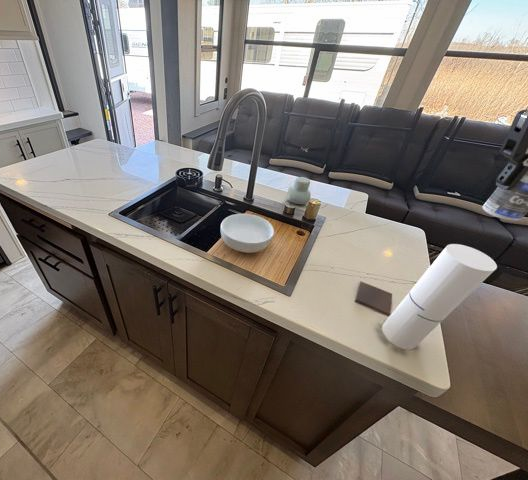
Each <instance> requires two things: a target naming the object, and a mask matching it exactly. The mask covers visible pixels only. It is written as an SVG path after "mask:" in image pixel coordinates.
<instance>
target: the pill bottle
mask: <svg viewBox="0 0 528 480" xmlns="http://www.w3.org/2000/svg"><path fill="white" fill-rule="evenodd" d="M482 210H483V211H484V212H486V213H487V214H489V215H490V216H493V217H496V218H499V219H502V220H507V221H514V222H515V221H517V222H518V221H520V220H522V219H523V218H524V217H525V215H527V214H528V171H527V172H526V173H525V175H524V176H523V177H522V178H521V179H520V181H519V182H518V183H517V184H516V185H515V186H514V188H513V189H511V190H503V189H501V188H500V187H498V186H497V187H496V189H495V190H494V191H493V192H492V194H491V195H490V197H488V199H487V200H486V201H485V203H484V204H483V205H482Z"/></svg>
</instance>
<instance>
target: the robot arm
mask: <svg viewBox="0 0 528 480" xmlns="http://www.w3.org/2000/svg"><path fill="white" fill-rule="evenodd" d="M499 154H500V155H502V156H503V157H506V158H507V159H508V160H509V162H508V163H507V165H505V167H504V168H503V170H502V171H501V172H500V173H499V174H498V175H497V177H496V179H495V186H496V187H497V188H498V187H500V188H501V189H503V190H511V189H513V188H514V186H515V185H516V184H517V183H518V182H519V181H520V179H521V178H522V177H523V176H524V175H525V173H526V172H527V171H528V110H527V109H522V110H520V111H518V112H517V113H516V114H515V115H514V118H513V120H512V123H511V125H510V127H509V129H508V132H507V134H506V136H505V139H504V141H503V143H502V145H501V148H500V150H499Z"/></svg>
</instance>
